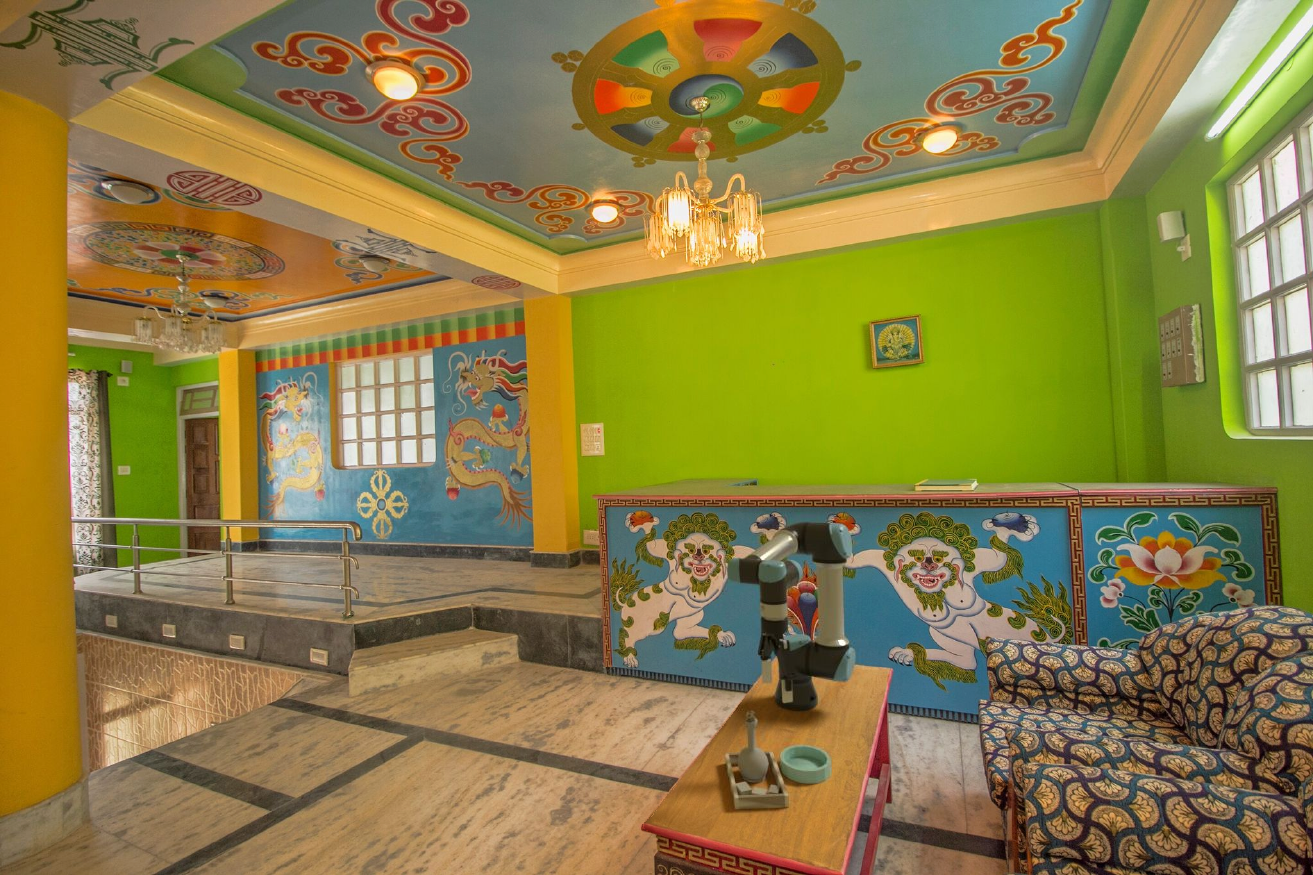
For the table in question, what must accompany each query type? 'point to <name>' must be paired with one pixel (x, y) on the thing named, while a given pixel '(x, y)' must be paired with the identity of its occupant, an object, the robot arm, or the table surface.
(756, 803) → the tray
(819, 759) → the bowl
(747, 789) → the grey block
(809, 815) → the table surface
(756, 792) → the pebble
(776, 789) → the pebble
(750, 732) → the potion bottle
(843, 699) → the table surface
